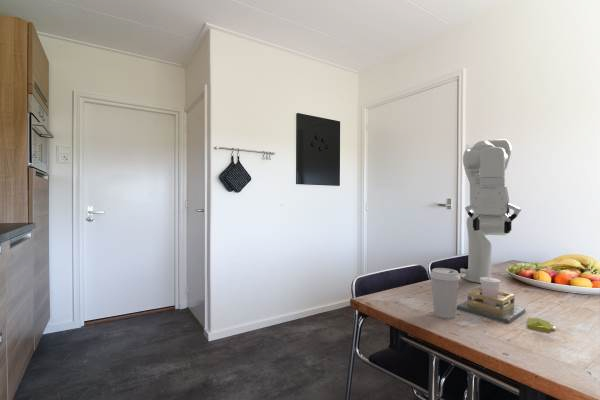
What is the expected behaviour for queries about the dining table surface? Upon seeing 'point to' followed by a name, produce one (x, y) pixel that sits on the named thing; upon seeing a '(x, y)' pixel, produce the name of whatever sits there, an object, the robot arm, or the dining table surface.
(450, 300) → the coffee cup
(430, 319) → the dining table surface
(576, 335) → the dining table surface
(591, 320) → the dining table surface
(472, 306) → the collar stand
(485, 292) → the smoothie
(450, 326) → the dining table surface
